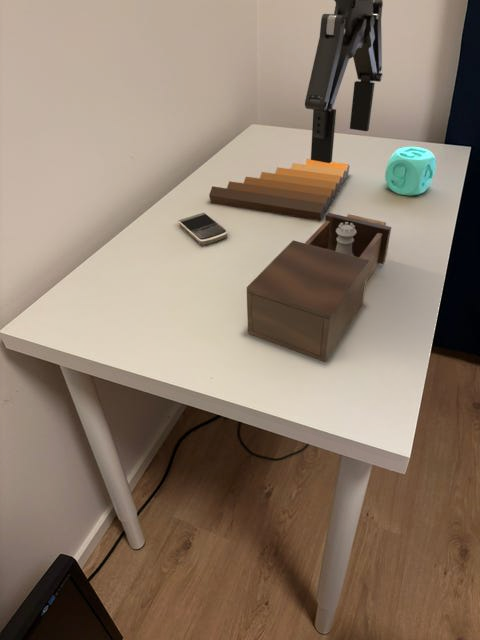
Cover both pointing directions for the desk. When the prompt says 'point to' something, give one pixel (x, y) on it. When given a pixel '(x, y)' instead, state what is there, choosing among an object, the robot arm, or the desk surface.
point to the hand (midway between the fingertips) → (341, 144)
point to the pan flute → (287, 190)
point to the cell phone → (203, 228)
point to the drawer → (356, 237)
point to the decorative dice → (410, 170)
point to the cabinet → (306, 298)
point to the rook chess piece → (345, 238)
